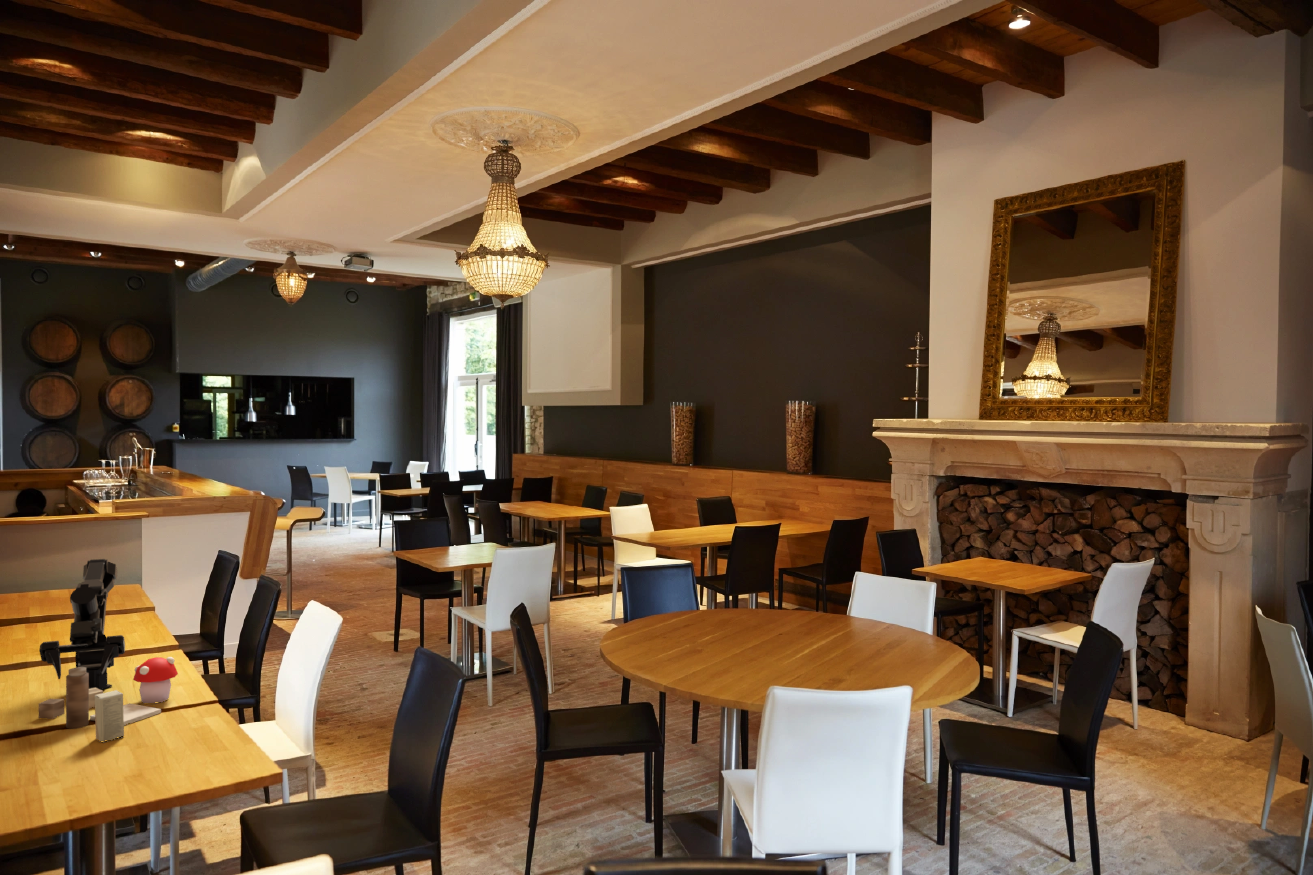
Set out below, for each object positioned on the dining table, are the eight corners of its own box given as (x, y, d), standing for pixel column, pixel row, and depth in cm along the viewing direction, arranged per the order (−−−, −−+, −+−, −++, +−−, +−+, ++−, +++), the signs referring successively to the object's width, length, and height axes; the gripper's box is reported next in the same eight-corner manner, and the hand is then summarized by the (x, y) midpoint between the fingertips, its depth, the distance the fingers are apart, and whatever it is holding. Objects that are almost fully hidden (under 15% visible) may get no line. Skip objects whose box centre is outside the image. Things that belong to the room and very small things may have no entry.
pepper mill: (61, 726, 219) (61, 670, 218) (80, 720, 223) (80, 665, 223) (74, 729, 217) (74, 672, 217) (93, 723, 221) (93, 667, 221)
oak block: (79, 705, 235) (79, 690, 235) (95, 701, 239) (95, 687, 239) (86, 709, 232) (86, 694, 232) (103, 705, 236) (103, 690, 236)
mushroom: (127, 707, 234) (127, 663, 234) (139, 695, 244) (140, 653, 244) (170, 704, 237) (170, 661, 236) (181, 692, 247) (181, 651, 247)
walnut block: (38, 718, 225) (38, 703, 225) (49, 713, 229) (49, 698, 229) (53, 718, 225) (53, 703, 224) (64, 713, 229) (64, 698, 228)
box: (118, 733, 215) (118, 689, 214) (124, 737, 212) (124, 692, 212) (94, 739, 211) (94, 694, 210) (100, 743, 208) (100, 698, 208)
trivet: (90, 719, 224) (90, 715, 224) (129, 706, 234) (129, 703, 234) (122, 726, 220) (122, 722, 220) (160, 712, 230) (160, 709, 230)
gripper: (40, 611, 224) (32, 664, 215) (124, 605, 233) (120, 655, 223) (45, 635, 231) (38, 686, 222) (126, 628, 240) (122, 677, 230)
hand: (80, 676), depth 224 cm, fingers open, 9 cm apart
